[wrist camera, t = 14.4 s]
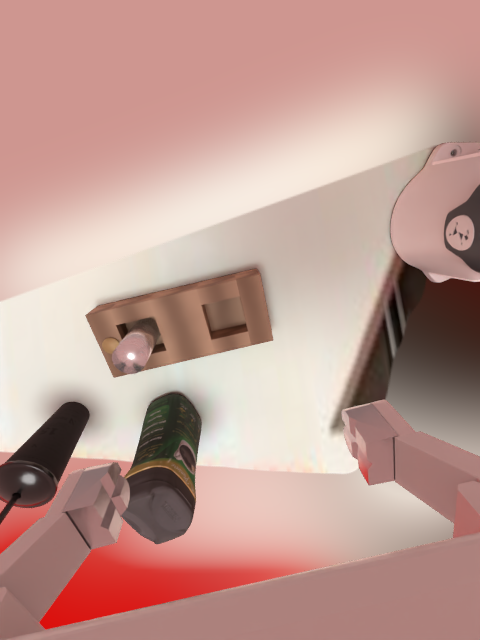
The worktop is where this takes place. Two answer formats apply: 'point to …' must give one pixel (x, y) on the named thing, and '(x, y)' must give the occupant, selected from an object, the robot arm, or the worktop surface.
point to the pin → (136, 346)
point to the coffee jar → (164, 470)
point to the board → (189, 319)
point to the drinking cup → (42, 460)
